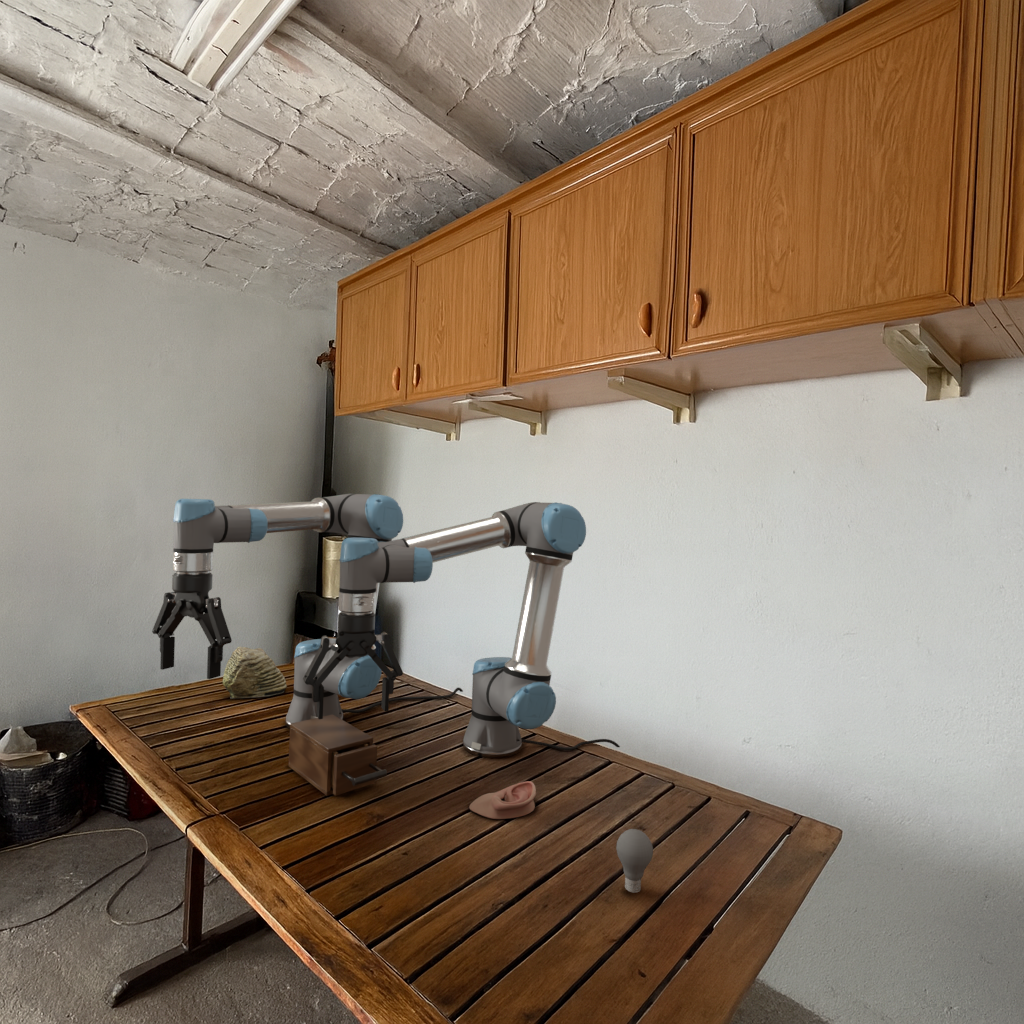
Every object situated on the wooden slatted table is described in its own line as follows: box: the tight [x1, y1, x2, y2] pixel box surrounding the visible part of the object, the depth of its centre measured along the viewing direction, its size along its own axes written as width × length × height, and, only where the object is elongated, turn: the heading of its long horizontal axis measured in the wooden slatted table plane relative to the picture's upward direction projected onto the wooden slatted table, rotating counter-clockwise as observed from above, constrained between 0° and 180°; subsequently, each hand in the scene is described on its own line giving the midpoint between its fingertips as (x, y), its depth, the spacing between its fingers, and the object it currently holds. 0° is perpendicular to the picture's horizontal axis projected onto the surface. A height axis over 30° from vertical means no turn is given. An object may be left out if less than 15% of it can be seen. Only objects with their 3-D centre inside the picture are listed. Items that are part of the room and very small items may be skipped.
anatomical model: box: [468, 780, 537, 820], centre depth 133 cm, size 13×4×12 cm
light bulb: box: [615, 828, 654, 894], centre depth 106 cm, size 6×6×10 cm
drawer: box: [331, 743, 388, 796], centre depth 140 cm, size 24×10×8 cm, turn 44°
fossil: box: [222, 646, 288, 699], centre depth 198 cm, size 9×18×15 cm, turn 132°
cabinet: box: [288, 714, 374, 797], centre depth 145 cm, size 19×11×10 cm, turn 44°
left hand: (190, 672), depth 133 cm, fingers open, 13 cm apart
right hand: (352, 713), depth 132 cm, fingers open, 13 cm apart
